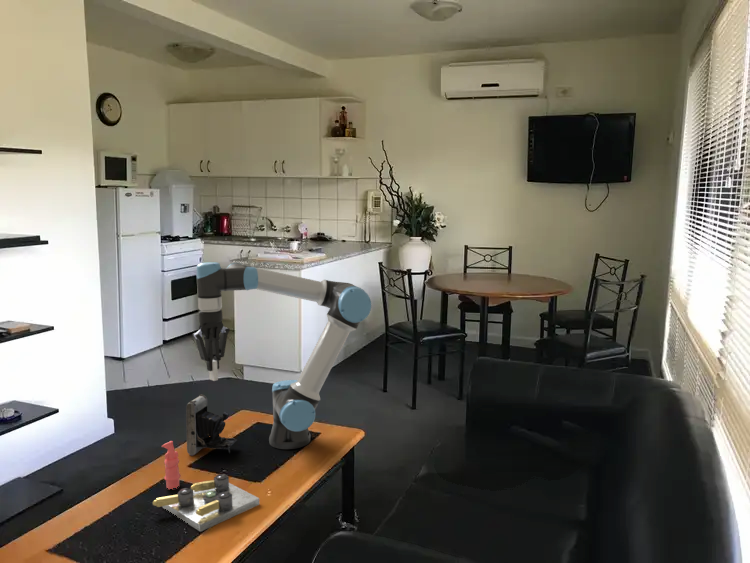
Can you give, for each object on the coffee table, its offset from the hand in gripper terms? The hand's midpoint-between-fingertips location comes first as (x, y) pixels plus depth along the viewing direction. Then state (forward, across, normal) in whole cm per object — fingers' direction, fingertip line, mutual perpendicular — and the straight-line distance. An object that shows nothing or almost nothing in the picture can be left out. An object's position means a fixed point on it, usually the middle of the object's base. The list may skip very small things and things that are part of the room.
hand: (213, 379), depth 207 cm
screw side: (+28, +20, +29) cm, 45 cm away
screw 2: (+28, +14, +17) cm, 36 cm away
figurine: (+31, +18, +2) cm, 36 cm away
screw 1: (+28, +26, +17) cm, 42 cm away
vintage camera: (+31, -6, -12) cm, 33 cm away
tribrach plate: (+30, +17, +22) cm, 41 cm away
